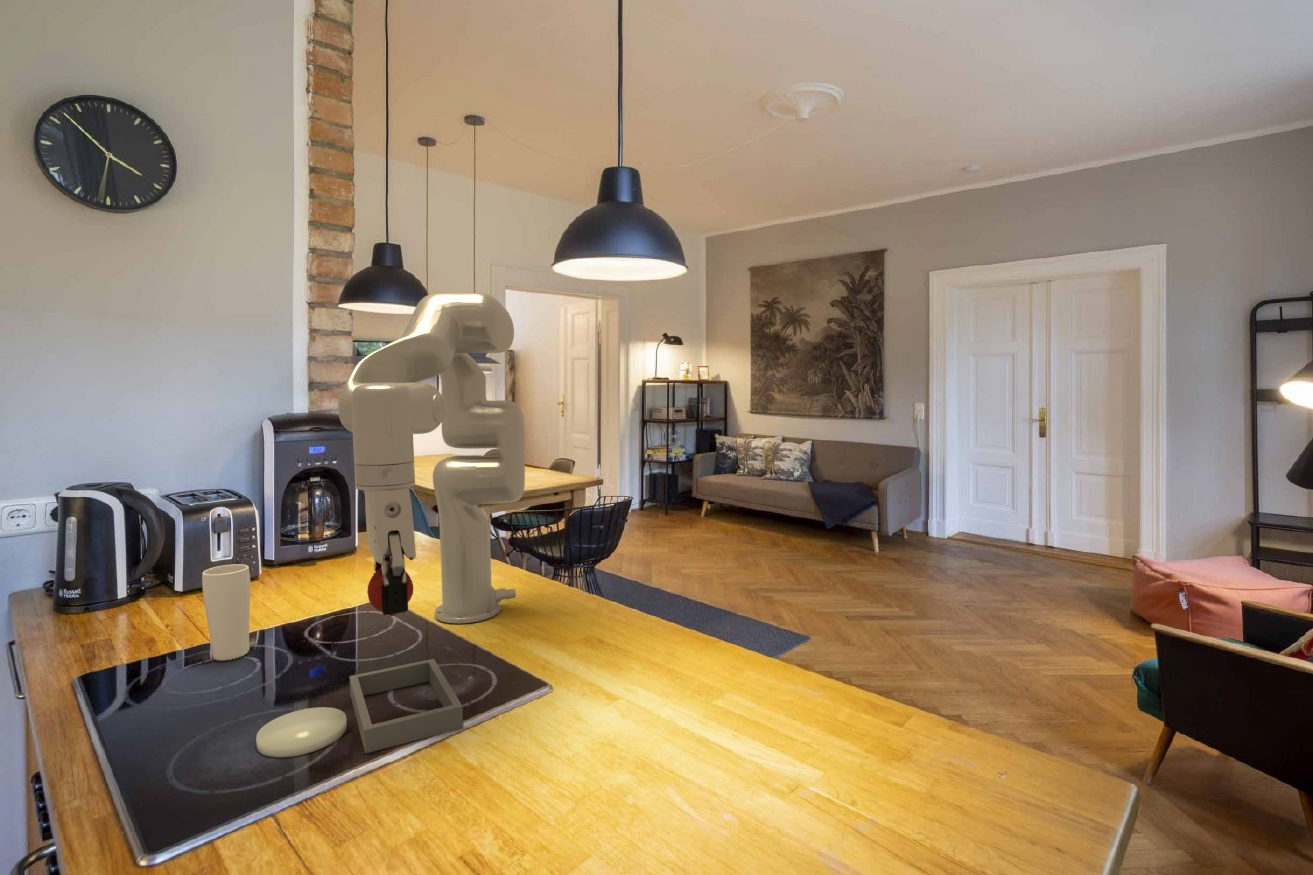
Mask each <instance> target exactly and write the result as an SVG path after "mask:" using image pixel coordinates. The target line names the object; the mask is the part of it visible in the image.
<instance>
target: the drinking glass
mask: <svg viewBox="0 0 1313 875" xmlns="http://www.w3.org/2000/svg"><path fill="white" fill-rule="evenodd" d="M201 575H202V576H201V577H202V578H201V579H202V580H201V583H202V596H203V603H204V610H205V615H206V621H207V628H208V630H209V631H208V632H209V637H210V643H211V644H210V645H211V655H212V659H214V660H216V661H219V662H224V661H226V660H227V661H232V659H233V660H236V658H237V659H240V658H242V657H244V656H245V654H246V655H248V653H249V652H250V621H251V620H250V617H251V616H250V615H251V613H250V612H251V575H250V567H249V565H247V564H242V563H241V564H240V563H239V564H236V563H235V564H225V565H217V566H214V567H210V568H208V569H206V570H203V572H202V574H201ZM241 656H242V657H241ZM239 657H240V658H239Z"/></svg>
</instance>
